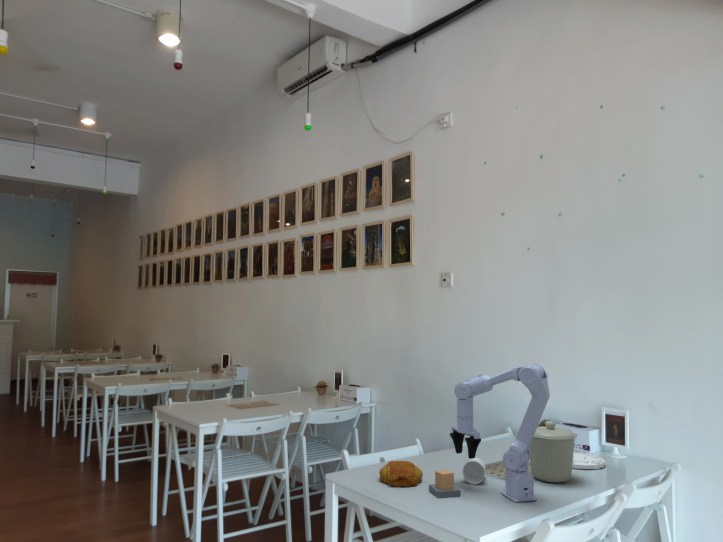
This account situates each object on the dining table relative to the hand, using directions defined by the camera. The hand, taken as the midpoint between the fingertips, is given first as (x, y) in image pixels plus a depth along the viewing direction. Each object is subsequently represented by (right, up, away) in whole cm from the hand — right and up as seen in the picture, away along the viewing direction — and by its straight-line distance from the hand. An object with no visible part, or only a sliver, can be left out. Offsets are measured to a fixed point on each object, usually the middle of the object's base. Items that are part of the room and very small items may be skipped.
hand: (465, 455), depth 191 cm
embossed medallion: (+53, -14, +31) cm, 63 cm away
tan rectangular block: (-9, -8, -9) cm, 15 cm away
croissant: (-23, -11, +3) cm, 25 cm away
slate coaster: (-9, -10, -9) cm, 16 cm away
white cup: (+6, -8, +11) cm, 15 cm away
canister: (+34, -12, +9) cm, 37 cm away
